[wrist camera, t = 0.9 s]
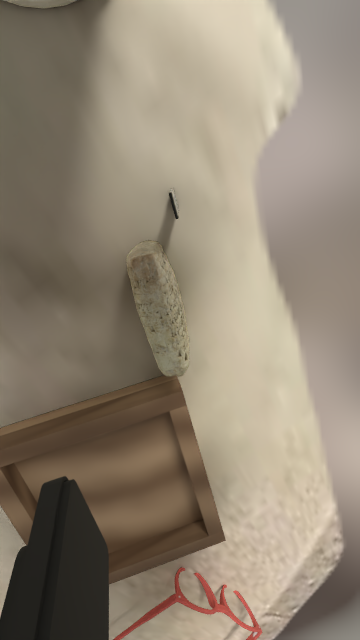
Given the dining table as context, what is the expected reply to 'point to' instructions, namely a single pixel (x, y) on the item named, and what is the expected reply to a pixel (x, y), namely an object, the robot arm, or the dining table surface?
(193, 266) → the dining table surface
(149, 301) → the cuneiform tablet
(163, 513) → the wooden tray
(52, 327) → the dining table surface
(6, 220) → the dining table surface
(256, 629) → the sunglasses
